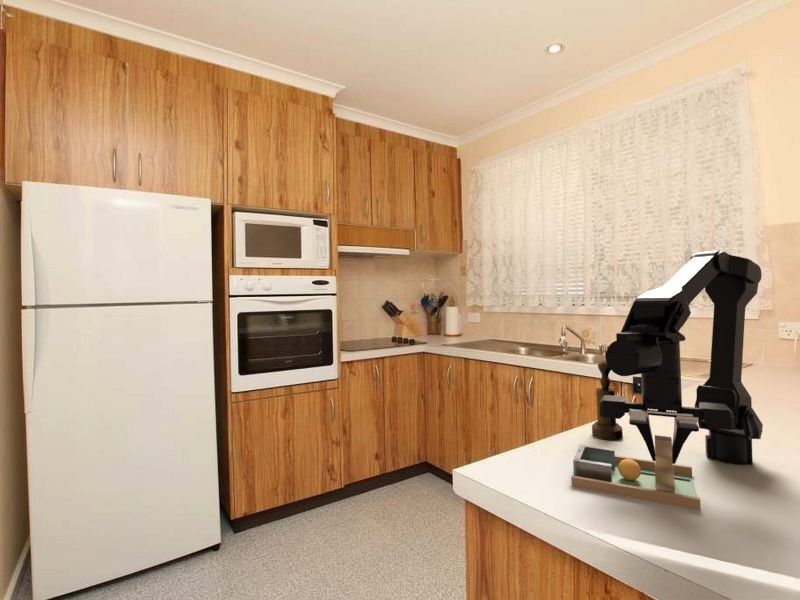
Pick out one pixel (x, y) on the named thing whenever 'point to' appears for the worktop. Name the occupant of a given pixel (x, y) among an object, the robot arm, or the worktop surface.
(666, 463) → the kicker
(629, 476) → the ball
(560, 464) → the worktop surface
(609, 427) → the pepper mill
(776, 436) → the worktop surface
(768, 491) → the worktop surface
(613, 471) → the pitch
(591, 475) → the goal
